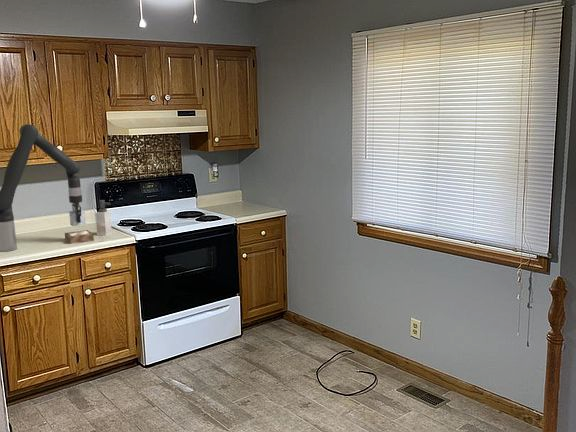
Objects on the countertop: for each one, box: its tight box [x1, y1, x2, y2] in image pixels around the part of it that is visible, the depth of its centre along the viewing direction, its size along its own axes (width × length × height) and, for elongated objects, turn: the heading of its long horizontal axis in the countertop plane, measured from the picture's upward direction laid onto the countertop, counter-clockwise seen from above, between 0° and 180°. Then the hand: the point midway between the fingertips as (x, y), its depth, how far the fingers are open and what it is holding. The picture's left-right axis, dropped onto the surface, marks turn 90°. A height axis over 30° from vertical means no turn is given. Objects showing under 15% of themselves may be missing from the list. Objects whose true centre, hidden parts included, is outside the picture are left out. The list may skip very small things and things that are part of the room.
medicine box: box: [68, 209, 86, 227], centre depth 354 cm, size 8×4×9 cm, turn 140°
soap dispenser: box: [95, 199, 113, 236], centre depth 369 cm, size 6×9×22 cm
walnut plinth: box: [64, 229, 95, 245], centre depth 357 cm, size 14×14×4 cm
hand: (77, 221), depth 355 cm, fingers closed on medicine box, 5 cm apart
